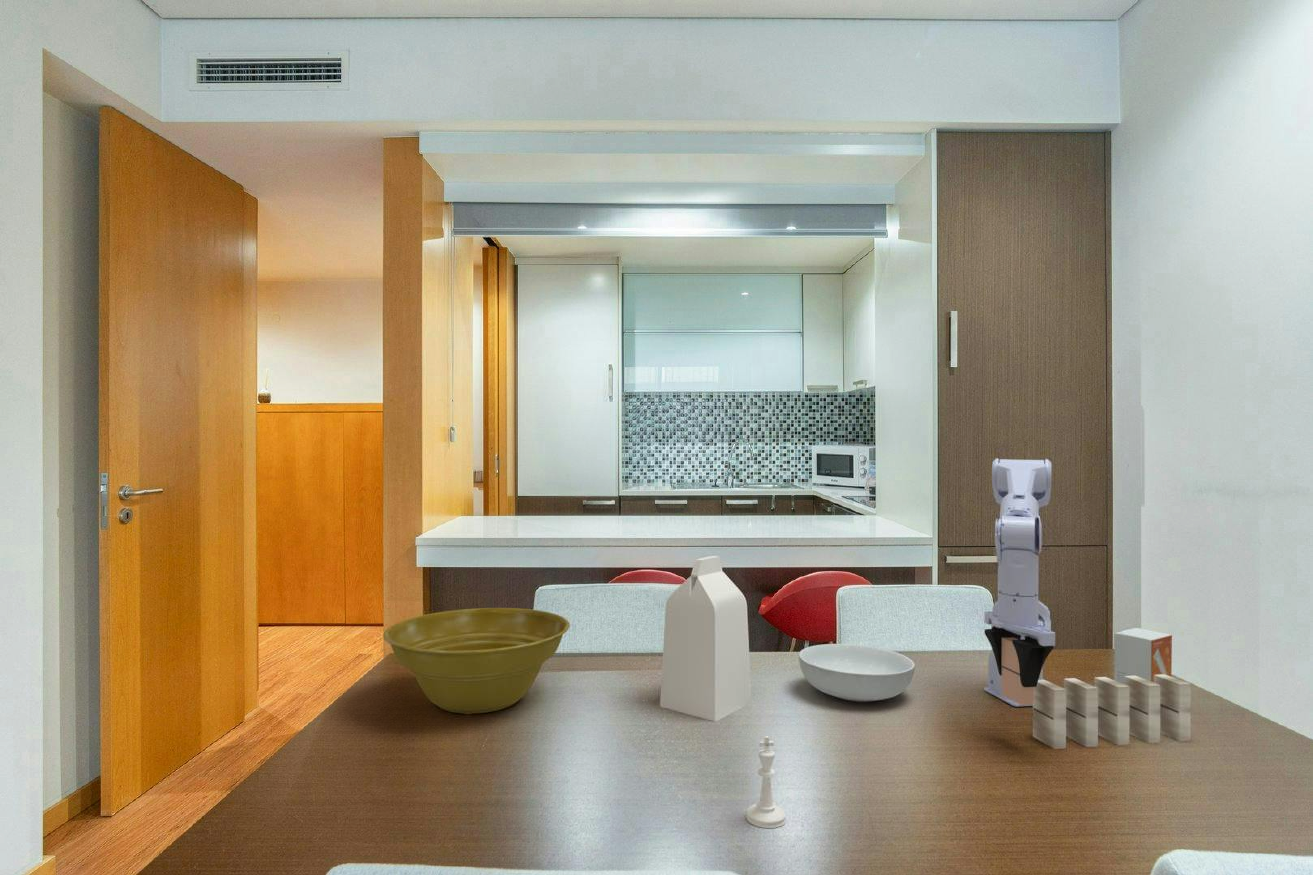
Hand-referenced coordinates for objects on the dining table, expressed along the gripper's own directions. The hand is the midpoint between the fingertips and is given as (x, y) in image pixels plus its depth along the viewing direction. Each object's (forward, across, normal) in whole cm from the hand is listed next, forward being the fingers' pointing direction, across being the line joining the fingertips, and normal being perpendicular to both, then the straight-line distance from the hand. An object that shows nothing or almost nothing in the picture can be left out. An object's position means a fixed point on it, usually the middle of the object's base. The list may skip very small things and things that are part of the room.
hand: (1017, 680), depth 117 cm
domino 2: (+10, 0, +11) cm, 15 cm away
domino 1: (+10, 0, +6) cm, 11 cm away
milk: (+10, -24, -44) cm, 51 cm away
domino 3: (+10, 0, +16) cm, 19 cm away
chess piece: (+10, +17, -46) cm, 50 cm away
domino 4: (+10, 0, +22) cm, 24 cm away
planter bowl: (+10, -31, -84) cm, 90 cm away
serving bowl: (+10, -26, -15) cm, 32 cm away
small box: (+10, -13, +34) cm, 38 cm away
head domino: (+3, 0, 0) cm, 3 cm away
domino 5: (+10, 0, +28) cm, 29 cm away
